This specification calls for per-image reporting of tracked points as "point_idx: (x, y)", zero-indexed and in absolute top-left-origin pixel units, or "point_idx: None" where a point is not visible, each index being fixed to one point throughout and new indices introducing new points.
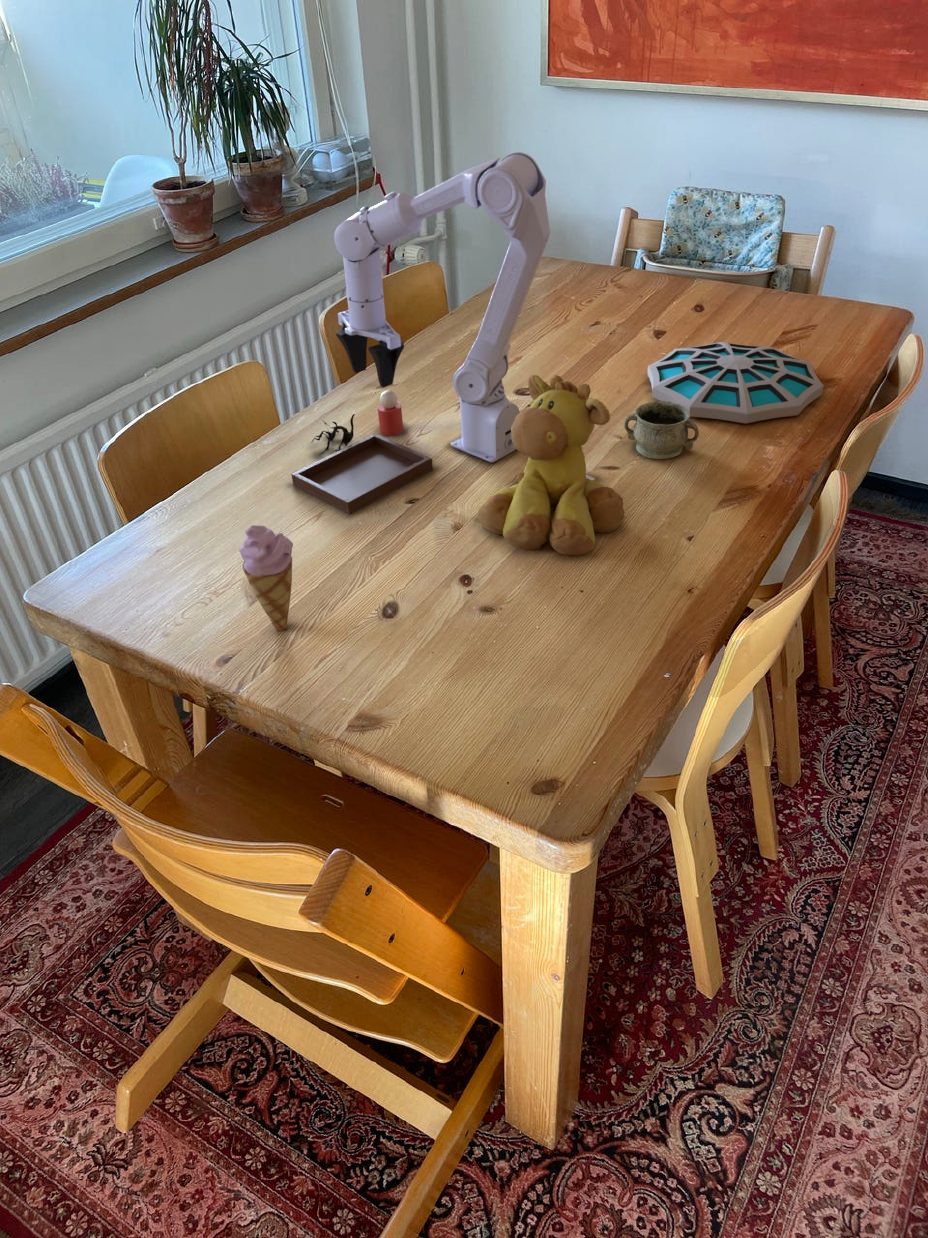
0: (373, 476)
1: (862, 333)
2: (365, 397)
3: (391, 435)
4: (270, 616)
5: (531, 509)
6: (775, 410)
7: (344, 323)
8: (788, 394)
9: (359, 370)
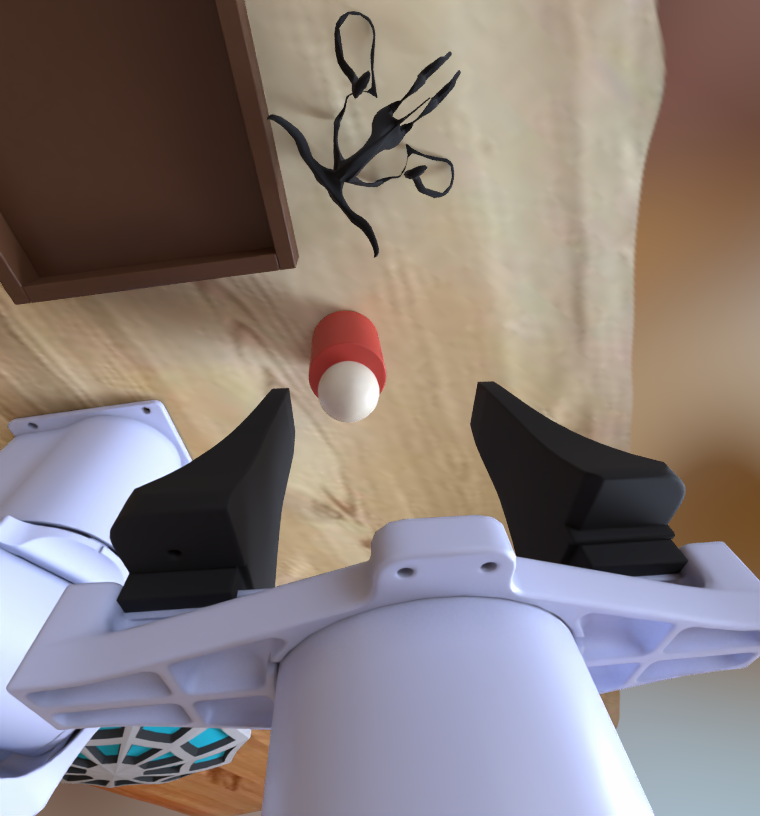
0: (35, 74)
1: (187, 800)
2: (550, 393)
3: (318, 324)
4: None
5: None
6: None
7: (679, 567)
8: None
9: (476, 401)
